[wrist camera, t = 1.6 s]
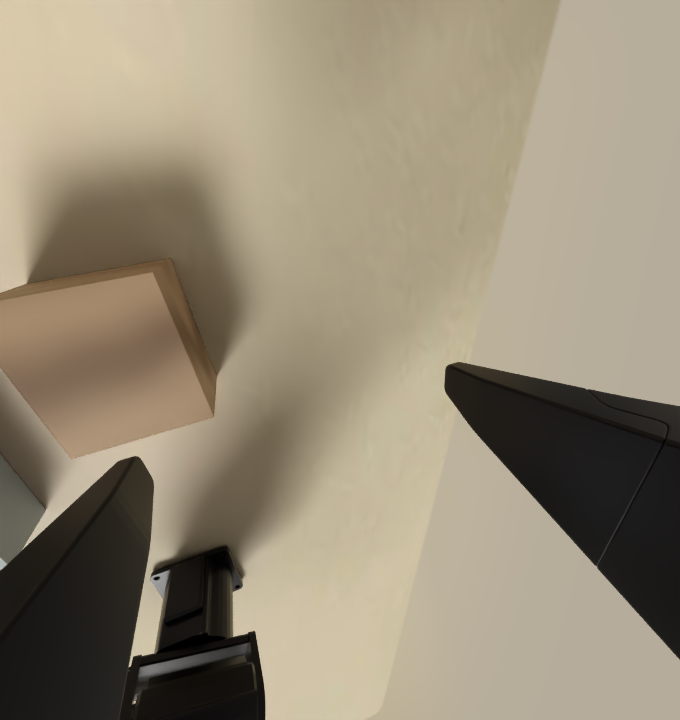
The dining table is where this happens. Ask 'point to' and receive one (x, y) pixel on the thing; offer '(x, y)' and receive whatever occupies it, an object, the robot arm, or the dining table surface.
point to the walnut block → (107, 355)
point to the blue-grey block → (15, 513)
